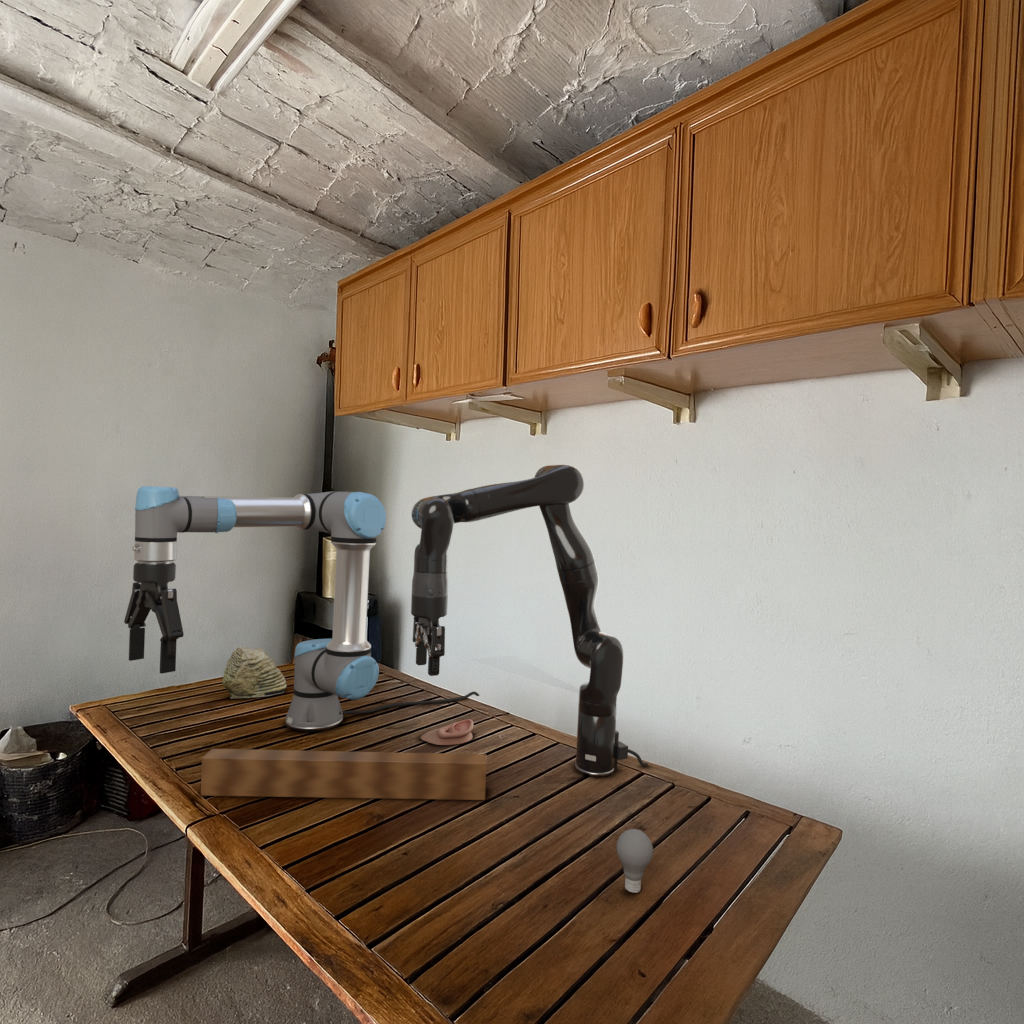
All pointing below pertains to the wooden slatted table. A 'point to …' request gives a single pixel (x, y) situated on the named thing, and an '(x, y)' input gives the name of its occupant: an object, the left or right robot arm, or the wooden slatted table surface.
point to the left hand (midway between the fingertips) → (151, 665)
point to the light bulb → (634, 857)
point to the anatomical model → (450, 733)
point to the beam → (343, 774)
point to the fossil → (252, 674)
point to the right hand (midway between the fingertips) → (427, 669)
